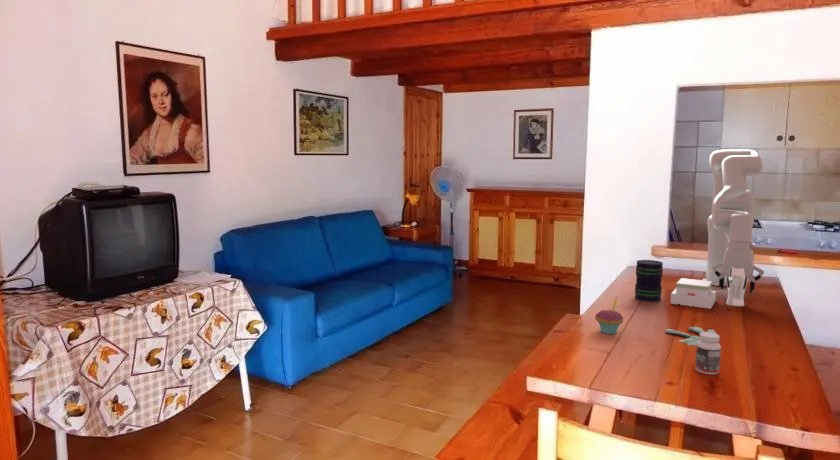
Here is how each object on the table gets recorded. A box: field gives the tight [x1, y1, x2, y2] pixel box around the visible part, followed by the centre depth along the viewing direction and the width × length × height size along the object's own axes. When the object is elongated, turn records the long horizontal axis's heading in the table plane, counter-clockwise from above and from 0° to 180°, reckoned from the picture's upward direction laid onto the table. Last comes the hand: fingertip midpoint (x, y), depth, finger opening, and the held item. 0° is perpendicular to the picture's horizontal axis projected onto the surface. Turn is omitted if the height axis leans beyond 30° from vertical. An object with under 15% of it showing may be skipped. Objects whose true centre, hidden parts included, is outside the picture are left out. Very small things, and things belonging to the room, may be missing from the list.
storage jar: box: [634, 259, 664, 303], centre depth 223 cm, size 10×10×15 cm
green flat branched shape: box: [664, 326, 721, 347], centre depth 178 cm, size 20×22×2 cm
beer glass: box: [725, 267, 749, 308], centre depth 214 cm, size 7×7×15 cm
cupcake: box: [594, 295, 624, 335], centre depth 180 cm, size 9×8×12 cm
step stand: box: [670, 277, 717, 310], centre depth 218 cm, size 14×14×8 cm
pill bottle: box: [694, 331, 722, 376], centre depth 147 cm, size 6×6×10 cm
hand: (736, 290), depth 214 cm, fingers open, 9 cm apart
